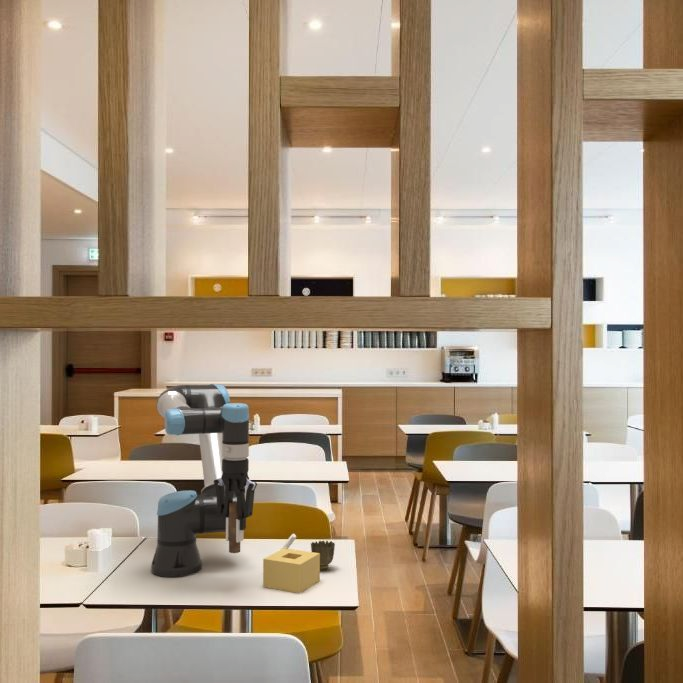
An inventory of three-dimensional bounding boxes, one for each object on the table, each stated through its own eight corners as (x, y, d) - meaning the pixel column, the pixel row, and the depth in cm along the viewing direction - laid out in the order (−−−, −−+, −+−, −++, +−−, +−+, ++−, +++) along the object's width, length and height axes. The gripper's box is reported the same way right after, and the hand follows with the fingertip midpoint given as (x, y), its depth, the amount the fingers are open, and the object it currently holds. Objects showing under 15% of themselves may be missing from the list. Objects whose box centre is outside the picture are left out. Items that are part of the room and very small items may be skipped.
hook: (311, 552, 224) (292, 540, 222) (288, 581, 225) (269, 570, 224) (309, 540, 231) (291, 529, 230) (287, 569, 232) (270, 558, 231)
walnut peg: (226, 552, 206) (226, 503, 205) (233, 549, 208) (233, 500, 208) (236, 553, 204) (236, 504, 204) (242, 550, 207) (242, 501, 207)
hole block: (263, 586, 207) (263, 558, 207) (283, 574, 218) (284, 548, 218) (300, 593, 202) (300, 564, 202) (319, 580, 212) (319, 553, 212)
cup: (310, 565, 227) (310, 540, 227) (333, 565, 227) (334, 539, 227) (311, 573, 219) (311, 546, 219) (335, 572, 220) (335, 546, 220)
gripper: (204, 457, 206) (203, 540, 206) (252, 462, 199) (251, 547, 200) (219, 453, 213) (219, 533, 213) (266, 458, 206) (265, 540, 206)
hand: (234, 540), depth 206 cm, fingers closed on walnut peg, 3 cm apart
